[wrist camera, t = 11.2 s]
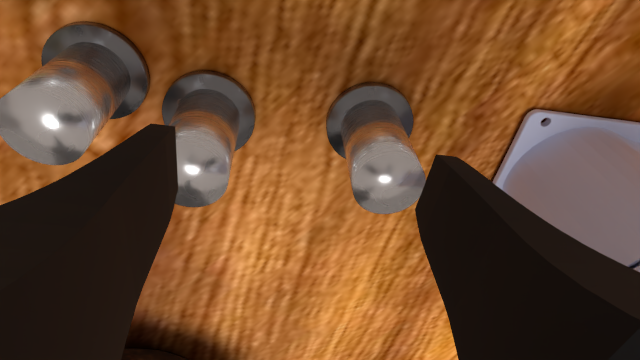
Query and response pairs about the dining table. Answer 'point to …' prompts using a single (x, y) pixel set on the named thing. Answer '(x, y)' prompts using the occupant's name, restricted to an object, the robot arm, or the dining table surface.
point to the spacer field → (197, 119)
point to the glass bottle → (148, 355)
